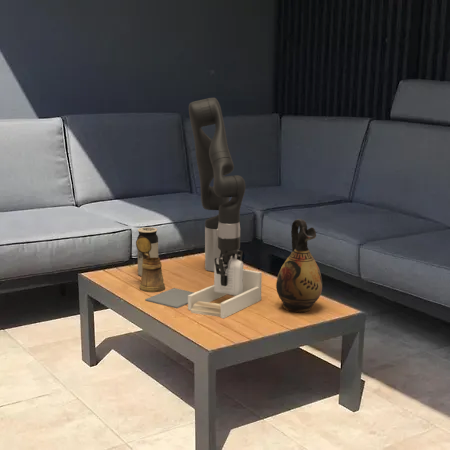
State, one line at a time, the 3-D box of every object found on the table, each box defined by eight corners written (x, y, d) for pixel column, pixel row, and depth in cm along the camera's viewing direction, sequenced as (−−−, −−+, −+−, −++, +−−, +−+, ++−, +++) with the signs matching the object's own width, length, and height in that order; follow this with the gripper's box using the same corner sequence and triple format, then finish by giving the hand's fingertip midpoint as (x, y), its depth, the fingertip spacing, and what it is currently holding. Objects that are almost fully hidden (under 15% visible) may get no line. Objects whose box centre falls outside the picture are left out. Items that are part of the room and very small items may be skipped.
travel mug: (154, 270, 284) (154, 226, 280) (161, 276, 277) (160, 230, 273) (135, 272, 281) (134, 228, 277) (141, 278, 274) (140, 232, 270)
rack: (226, 292, 257) (227, 265, 255) (261, 300, 249) (261, 272, 247) (188, 309, 239) (187, 280, 237) (223, 318, 231) (223, 288, 229)
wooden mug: (152, 280, 271) (151, 234, 267) (169, 289, 260) (168, 241, 256) (130, 284, 266) (129, 237, 262) (147, 293, 255) (146, 244, 251)
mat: (174, 289, 261) (174, 287, 260) (205, 296, 253) (205, 294, 253) (145, 300, 248) (145, 299, 248) (177, 308, 240) (177, 306, 240)
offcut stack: (196, 309, 240) (196, 300, 240) (226, 313, 237) (227, 304, 236) (190, 314, 236) (190, 305, 235) (221, 318, 232) (221, 309, 232)
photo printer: (244, 292, 245) (245, 257, 242) (240, 296, 241) (240, 261, 238) (216, 289, 248) (217, 254, 246) (212, 292, 245) (212, 257, 242)
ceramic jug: (330, 312, 238) (333, 223, 231) (288, 317, 232) (291, 227, 225) (305, 297, 253) (308, 213, 247) (265, 302, 247) (267, 217, 241)
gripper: (231, 229, 248) (231, 276, 252) (207, 237, 236) (207, 286, 240) (249, 232, 244) (249, 280, 248) (226, 240, 232) (225, 290, 236)
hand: (228, 283), depth 244 cm, fingers closed on photo printer, 5 cm apart
